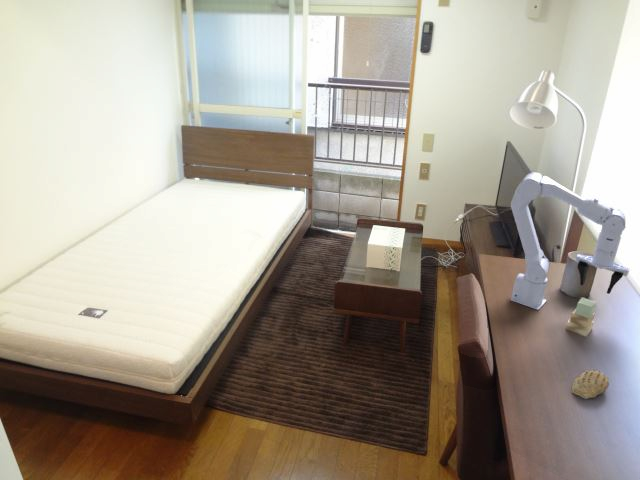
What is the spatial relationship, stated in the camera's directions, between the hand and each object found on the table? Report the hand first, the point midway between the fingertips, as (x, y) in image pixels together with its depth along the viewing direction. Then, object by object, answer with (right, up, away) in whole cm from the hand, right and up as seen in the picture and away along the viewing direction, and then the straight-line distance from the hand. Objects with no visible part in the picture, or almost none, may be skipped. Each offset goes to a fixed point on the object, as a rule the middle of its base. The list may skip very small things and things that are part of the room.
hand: (595, 288), depth 153 cm
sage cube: (-6, -7, -5) cm, 11 cm away
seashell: (-18, -24, -28) cm, 41 cm away
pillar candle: (+3, -3, +19) cm, 20 cm away
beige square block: (-6, -10, -3) cm, 12 cm away
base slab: (-6, -13, -2) cm, 14 cm away
